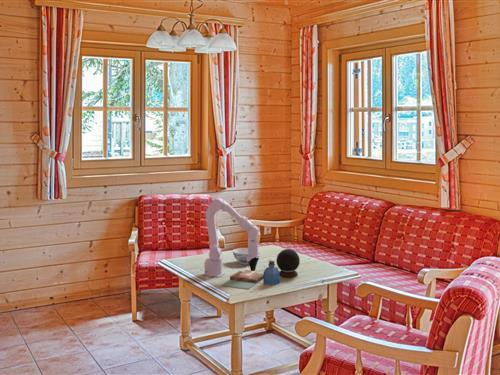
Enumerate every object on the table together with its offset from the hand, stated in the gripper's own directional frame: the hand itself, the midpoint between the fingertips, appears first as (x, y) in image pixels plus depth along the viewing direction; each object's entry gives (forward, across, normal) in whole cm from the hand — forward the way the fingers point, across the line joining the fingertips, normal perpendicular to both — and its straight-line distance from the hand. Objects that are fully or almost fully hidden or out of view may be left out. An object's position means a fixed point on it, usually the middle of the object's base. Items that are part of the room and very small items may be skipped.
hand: (252, 270), depth 315 cm
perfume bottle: (+3, -10, -15) cm, 18 cm away
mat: (+3, -19, 0) cm, 19 cm away
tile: (+1, -8, 0) cm, 8 cm away
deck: (+3, -8, 0) cm, 8 cm away
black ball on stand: (+3, +8, -18) cm, 20 cm away
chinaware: (+3, +22, +15) cm, 27 cm away
